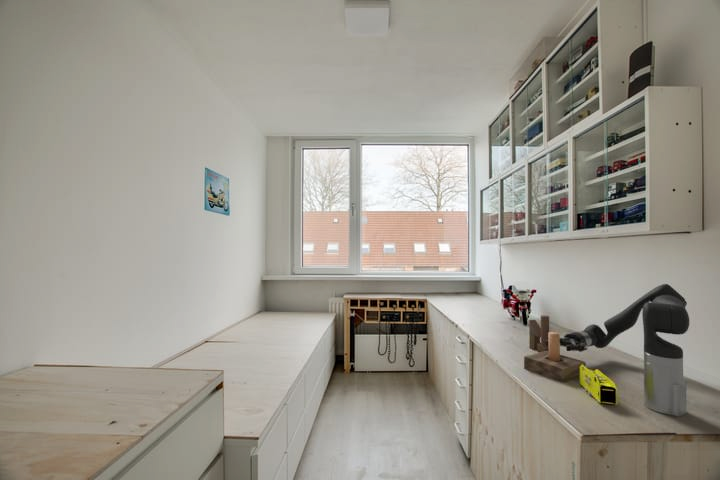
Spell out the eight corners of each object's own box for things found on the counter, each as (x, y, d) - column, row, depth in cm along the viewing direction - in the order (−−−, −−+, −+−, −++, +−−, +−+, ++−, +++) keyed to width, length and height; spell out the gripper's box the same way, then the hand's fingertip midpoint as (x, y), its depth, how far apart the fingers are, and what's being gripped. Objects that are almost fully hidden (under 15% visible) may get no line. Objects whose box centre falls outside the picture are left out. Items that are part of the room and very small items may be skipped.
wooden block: (535, 347, 168) (535, 312, 168) (551, 354, 157) (551, 316, 158) (529, 347, 167) (528, 312, 167) (545, 354, 157) (544, 316, 157)
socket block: (585, 374, 132) (585, 361, 132) (563, 382, 124) (563, 368, 124) (546, 362, 146) (546, 350, 146) (524, 368, 138) (524, 356, 138)
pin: (562, 368, 135) (561, 333, 135) (556, 370, 133) (555, 335, 133) (552, 365, 138) (551, 331, 138) (546, 366, 136) (546, 332, 136)
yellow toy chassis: (578, 385, 122) (578, 362, 122) (596, 386, 121) (595, 364, 121) (597, 405, 107) (597, 379, 107) (618, 407, 105) (618, 381, 105)
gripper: (595, 353, 139) (574, 359, 131) (561, 345, 151) (540, 350, 143) (595, 335, 139) (574, 340, 131) (561, 328, 151) (539, 332, 143)
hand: (556, 345), depth 137 cm, fingers open, 8 cm apart
